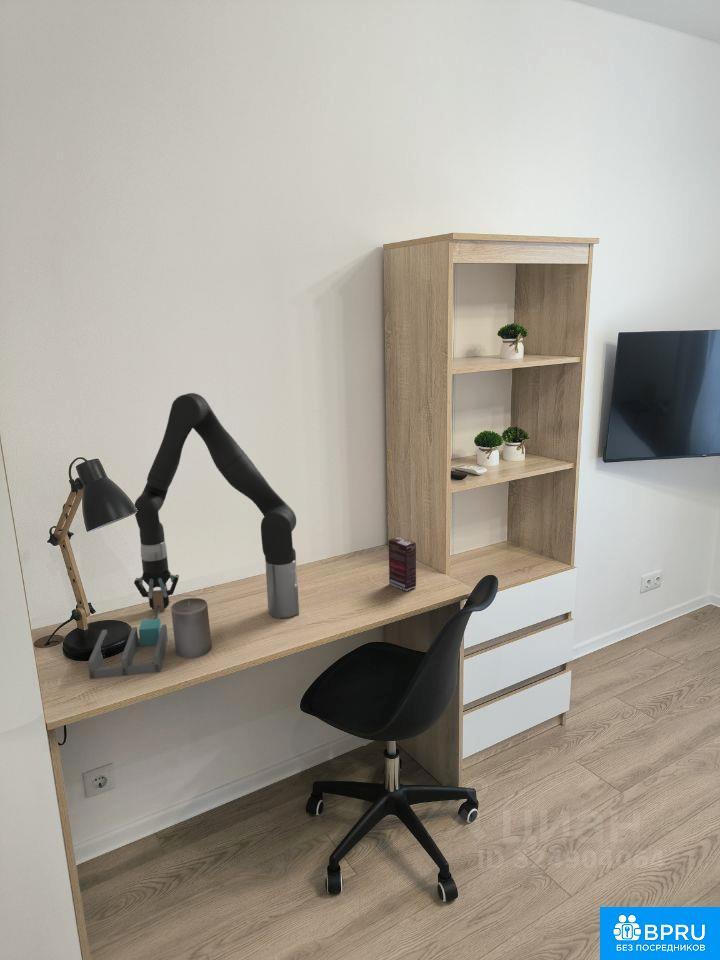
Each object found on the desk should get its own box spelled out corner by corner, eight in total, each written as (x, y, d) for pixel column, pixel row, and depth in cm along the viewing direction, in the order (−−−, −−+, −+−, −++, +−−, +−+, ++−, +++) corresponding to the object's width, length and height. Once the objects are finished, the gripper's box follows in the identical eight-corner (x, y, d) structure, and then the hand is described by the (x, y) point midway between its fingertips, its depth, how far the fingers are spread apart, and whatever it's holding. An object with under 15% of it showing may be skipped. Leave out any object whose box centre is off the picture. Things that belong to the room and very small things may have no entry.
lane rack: (168, 640, 197) (166, 624, 196) (160, 673, 180) (158, 655, 179) (104, 646, 195) (102, 629, 194) (90, 679, 178) (87, 662, 177)
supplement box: (416, 587, 229) (416, 542, 225) (406, 592, 226) (406, 546, 222) (398, 580, 236) (398, 536, 231) (388, 584, 233) (387, 539, 228)
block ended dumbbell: (168, 607, 218) (166, 589, 217) (159, 644, 195) (156, 624, 193) (152, 608, 217) (150, 590, 216) (140, 646, 194) (138, 626, 192)
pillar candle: (200, 638, 198) (195, 590, 194) (218, 650, 191) (213, 600, 187) (169, 650, 192) (163, 601, 188) (186, 663, 185) (180, 612, 181)
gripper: (179, 549, 216) (183, 600, 221) (132, 553, 214) (138, 604, 219) (176, 558, 209) (181, 610, 214) (128, 561, 207) (134, 614, 212)
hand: (159, 607), depth 216 cm, fingers closed on block ended dumbbell, 3 cm apart
